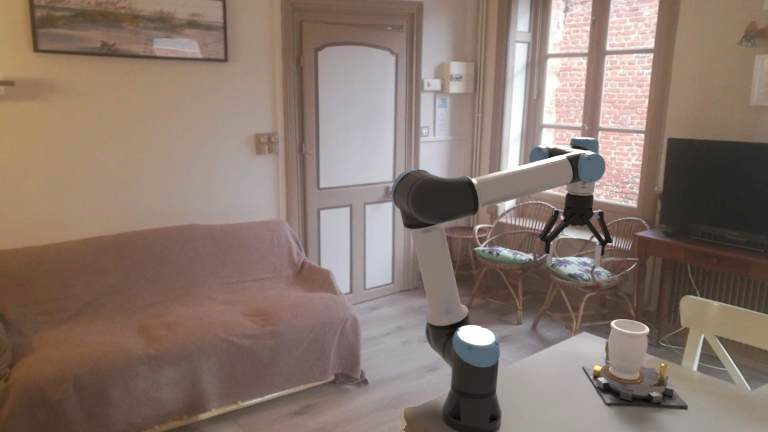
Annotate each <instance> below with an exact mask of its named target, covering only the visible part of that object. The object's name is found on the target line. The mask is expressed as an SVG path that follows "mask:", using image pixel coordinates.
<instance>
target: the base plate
mask: <svg viewBox="0 0 768 432" xmlns="http://www.w3.org/2000/svg"><path fill="white" fill-rule="evenodd" d="M595 366H596V365H582V369H584V370H583V372H584V373H585V374H586V376H587V377H588V379H589V380H590V382H591V384H592V385H593V386H594V388H595V390H596V391H597V392H598V394H599V397H600V398H601V399H602V401H603V402H604V403H605V406H614V407H615V406H616V407H617V406H618V407H640V408H641V407H645V408H649V407H650V408H668V409H669V408H670V409H671V408H674V409H688V408H689V405H688V404H687V403H686V402H685V401H684V400H683V398H682V397H681V396H680V395H679V394H678V393H677V391H675V390H674V391H673V395H672V396H670V395H666V394H664V395H663V397H662V402H656V403H652V402H651V401H649V400H648V399H636V398H632V401H630V400H626V399H623V398H620V394H618V393H615V392H613V391H611V390H610V389H601V388H600V387H599V386H598V385H596V383H597V378H599V377H597V376H593V369H594V367H595ZM599 366H600V367H603V366H604V365H599ZM647 368H648V369H651V370H653V371H655V372H658V371H657V369H656V368H655V367H654V368H653V367H647Z"/></svg>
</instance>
